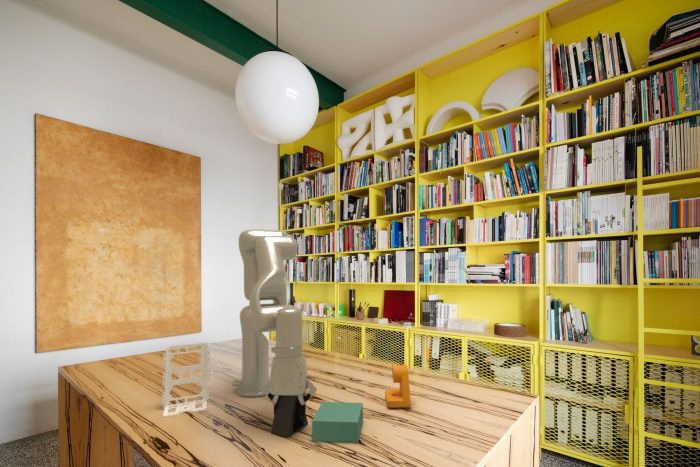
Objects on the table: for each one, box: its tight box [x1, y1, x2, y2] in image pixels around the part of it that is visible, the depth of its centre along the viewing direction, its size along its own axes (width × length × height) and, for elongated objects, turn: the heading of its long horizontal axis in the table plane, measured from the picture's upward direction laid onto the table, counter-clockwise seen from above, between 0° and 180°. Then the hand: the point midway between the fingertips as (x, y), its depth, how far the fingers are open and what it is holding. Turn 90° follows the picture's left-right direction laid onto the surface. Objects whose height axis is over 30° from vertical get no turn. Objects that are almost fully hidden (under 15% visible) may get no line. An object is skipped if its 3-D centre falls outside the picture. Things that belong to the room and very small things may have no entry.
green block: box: [311, 401, 364, 444], centre depth 96 cm, size 12×13×5 cm
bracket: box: [384, 364, 412, 408], centre depth 114 cm, size 11×7×12 cm, turn 179°
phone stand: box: [270, 396, 309, 439], centre depth 98 cm, size 9×6×12 cm, turn 150°
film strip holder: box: [161, 342, 211, 418], centre depth 116 cm, size 14×14×20 cm
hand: (289, 417), depth 97 cm, fingers closed on phone stand, 6 cm apart
